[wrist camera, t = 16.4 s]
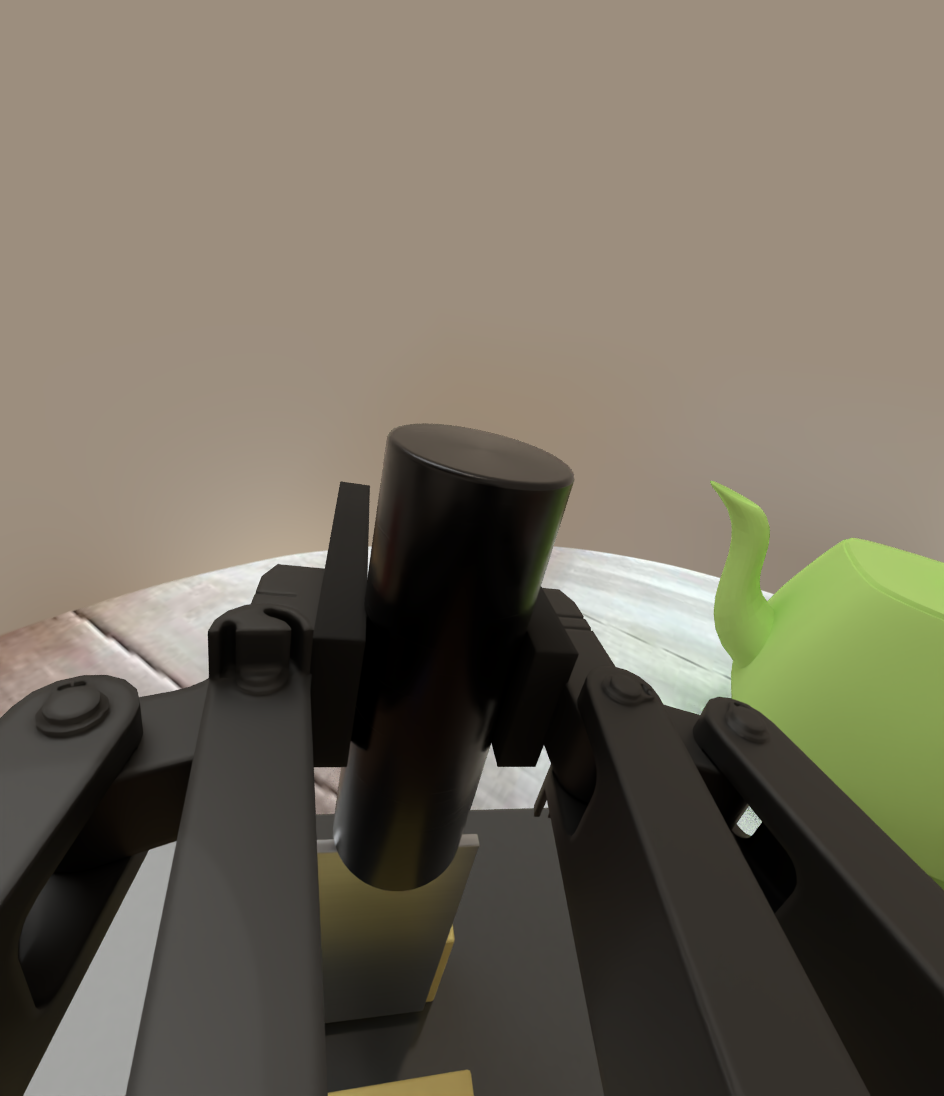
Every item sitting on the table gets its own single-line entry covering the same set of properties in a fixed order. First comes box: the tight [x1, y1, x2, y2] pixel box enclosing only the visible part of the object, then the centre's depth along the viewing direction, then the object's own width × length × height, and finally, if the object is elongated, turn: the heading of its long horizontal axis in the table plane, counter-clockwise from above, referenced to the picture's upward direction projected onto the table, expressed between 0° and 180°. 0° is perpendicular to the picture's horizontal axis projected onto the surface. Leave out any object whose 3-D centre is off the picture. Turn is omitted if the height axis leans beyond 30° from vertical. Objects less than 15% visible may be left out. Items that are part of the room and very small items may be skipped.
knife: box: [317, 424, 574, 1023], centre depth 11 cm, size 4×3×17 cm
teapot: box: [710, 481, 944, 890], centre depth 30 cm, size 25×22×16 cm
